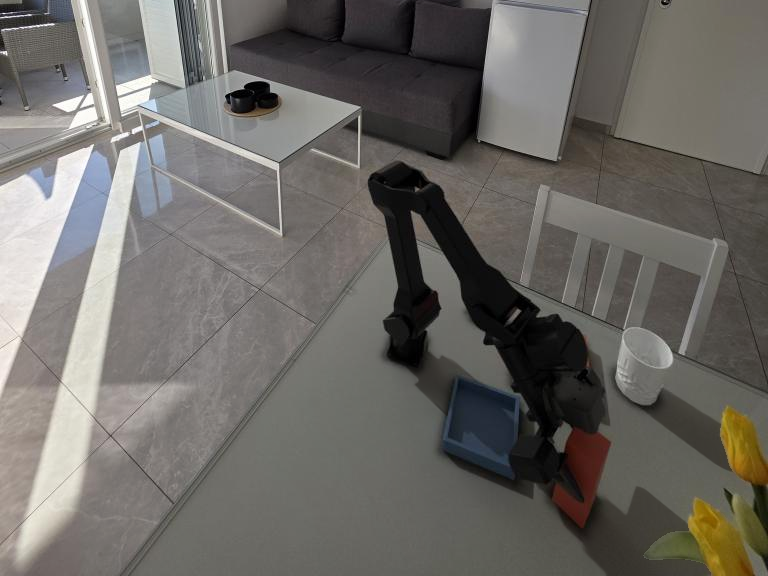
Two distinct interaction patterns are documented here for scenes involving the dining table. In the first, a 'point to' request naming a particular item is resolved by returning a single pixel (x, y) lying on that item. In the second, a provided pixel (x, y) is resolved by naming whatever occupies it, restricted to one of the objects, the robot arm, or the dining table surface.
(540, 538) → the dining table surface
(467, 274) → the robot arm
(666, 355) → the white cup
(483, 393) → the blue tray
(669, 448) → the dining table surface
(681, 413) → the dining table surface
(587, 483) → the red pillar
